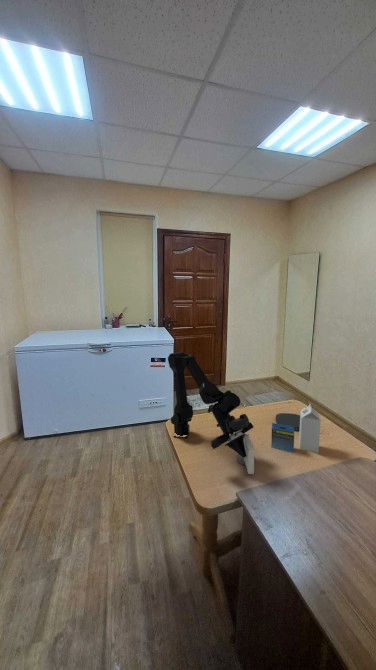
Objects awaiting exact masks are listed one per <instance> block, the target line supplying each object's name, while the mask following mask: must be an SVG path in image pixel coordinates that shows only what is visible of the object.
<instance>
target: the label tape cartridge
mask: <svg viewBox="0 0 376 670" xmlns="http://www.w3.org/2000/svg"><path fill="white" fill-rule="evenodd" d="M271 425H272V426H271V445H270V446H271V447H270V448H272V449H276V450H279V451H280V450H281V451H284V452H289V453H294V451H295V431H294V427H292V426H286V425H281V424H276V422H272V423H271ZM279 427H284V428H286V429H281V428H279Z"/></svg>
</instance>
